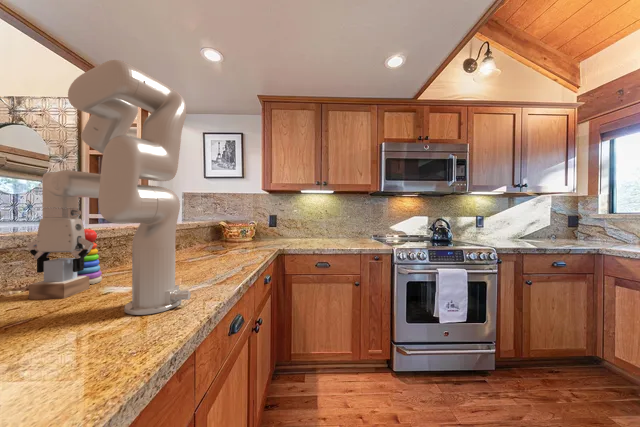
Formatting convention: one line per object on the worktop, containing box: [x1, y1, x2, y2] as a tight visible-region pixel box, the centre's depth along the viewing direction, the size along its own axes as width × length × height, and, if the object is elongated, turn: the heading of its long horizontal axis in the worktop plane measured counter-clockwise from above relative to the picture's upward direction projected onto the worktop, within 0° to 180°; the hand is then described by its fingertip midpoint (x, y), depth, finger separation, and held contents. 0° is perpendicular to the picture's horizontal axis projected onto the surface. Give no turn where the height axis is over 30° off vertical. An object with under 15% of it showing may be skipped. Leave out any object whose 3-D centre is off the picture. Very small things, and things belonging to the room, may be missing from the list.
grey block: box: [43, 257, 77, 282], centre depth 76 cm, size 5×5×6 cm
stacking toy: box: [77, 228, 103, 286], centre depth 87 cm, size 8×8×19 cm
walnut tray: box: [28, 276, 90, 300], centre depth 76 cm, size 9×9×4 cm
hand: (61, 271), depth 76 cm, fingers open, 9 cm apart
